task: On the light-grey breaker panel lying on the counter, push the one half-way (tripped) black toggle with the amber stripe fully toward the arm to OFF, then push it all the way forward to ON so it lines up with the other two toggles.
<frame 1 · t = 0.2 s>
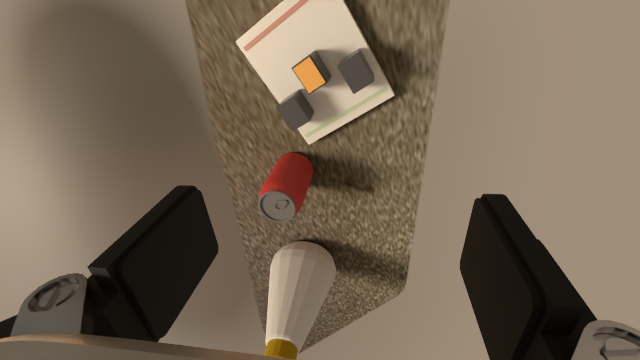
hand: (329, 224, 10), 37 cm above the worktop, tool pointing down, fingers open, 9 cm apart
tripped breaker: (312, 72, 39), point 4 cm above the worktop, slide at 3.0 cm
soap bottle: (308, 252, 63), on the worktop
breaker panel: (317, 66, 43), on the worktop
beer can: (295, 167, 52), on the worktop
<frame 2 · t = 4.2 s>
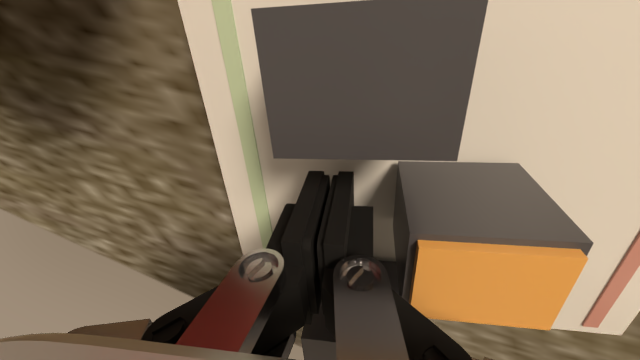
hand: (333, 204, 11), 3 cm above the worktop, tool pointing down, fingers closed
tripped breaker: (464, 235, 9), point 4 cm above the worktop, slide at 2.8 cm, touching gripper
breaker panel: (432, 168, 13), on the worktop
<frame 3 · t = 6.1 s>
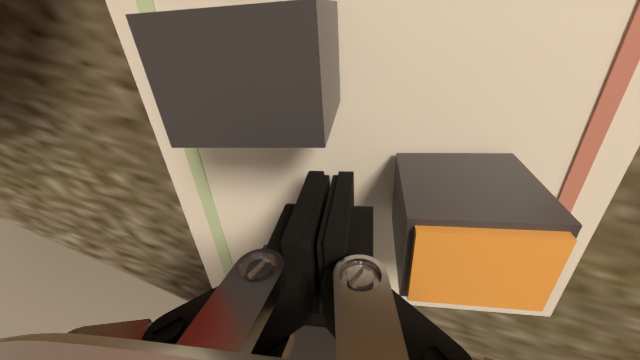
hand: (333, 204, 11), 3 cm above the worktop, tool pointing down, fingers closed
tripped breaker: (460, 222, 10), point 4 cm above the worktop, slide at 0.0 cm
breaker panel: (368, 160, 14), on the worktop
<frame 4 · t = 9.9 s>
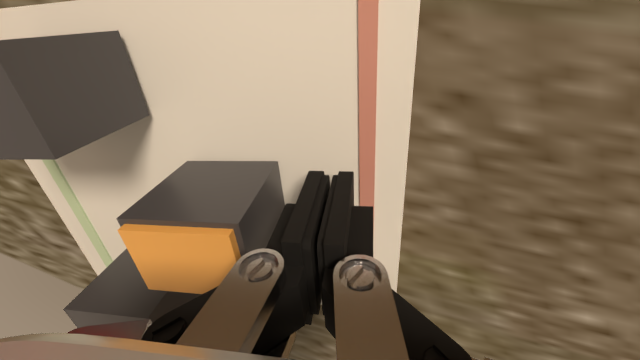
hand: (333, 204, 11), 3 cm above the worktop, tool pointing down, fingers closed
tripped breaker: (216, 222, 11), point 4 cm above the worktop, slide at 1.0 cm, touching gripper
breaker panel: (220, 167, 15), on the worktop
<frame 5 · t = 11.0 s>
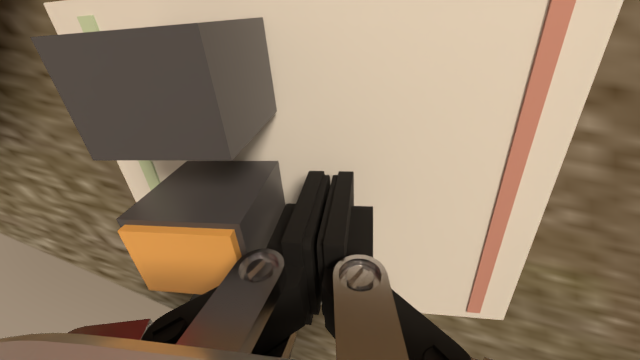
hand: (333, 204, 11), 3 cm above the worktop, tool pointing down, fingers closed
tripped breaker: (216, 222, 11), point 4 cm above the worktop, slide at 6.3 cm, touching gripper
breaker panel: (320, 167, 14), on the worktop
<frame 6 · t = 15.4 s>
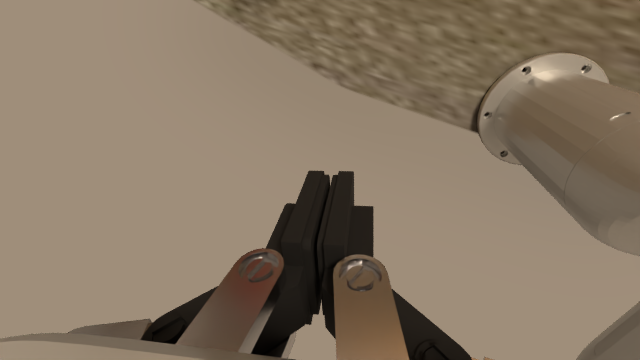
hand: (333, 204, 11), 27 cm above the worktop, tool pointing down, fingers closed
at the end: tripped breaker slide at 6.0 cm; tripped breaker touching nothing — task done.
